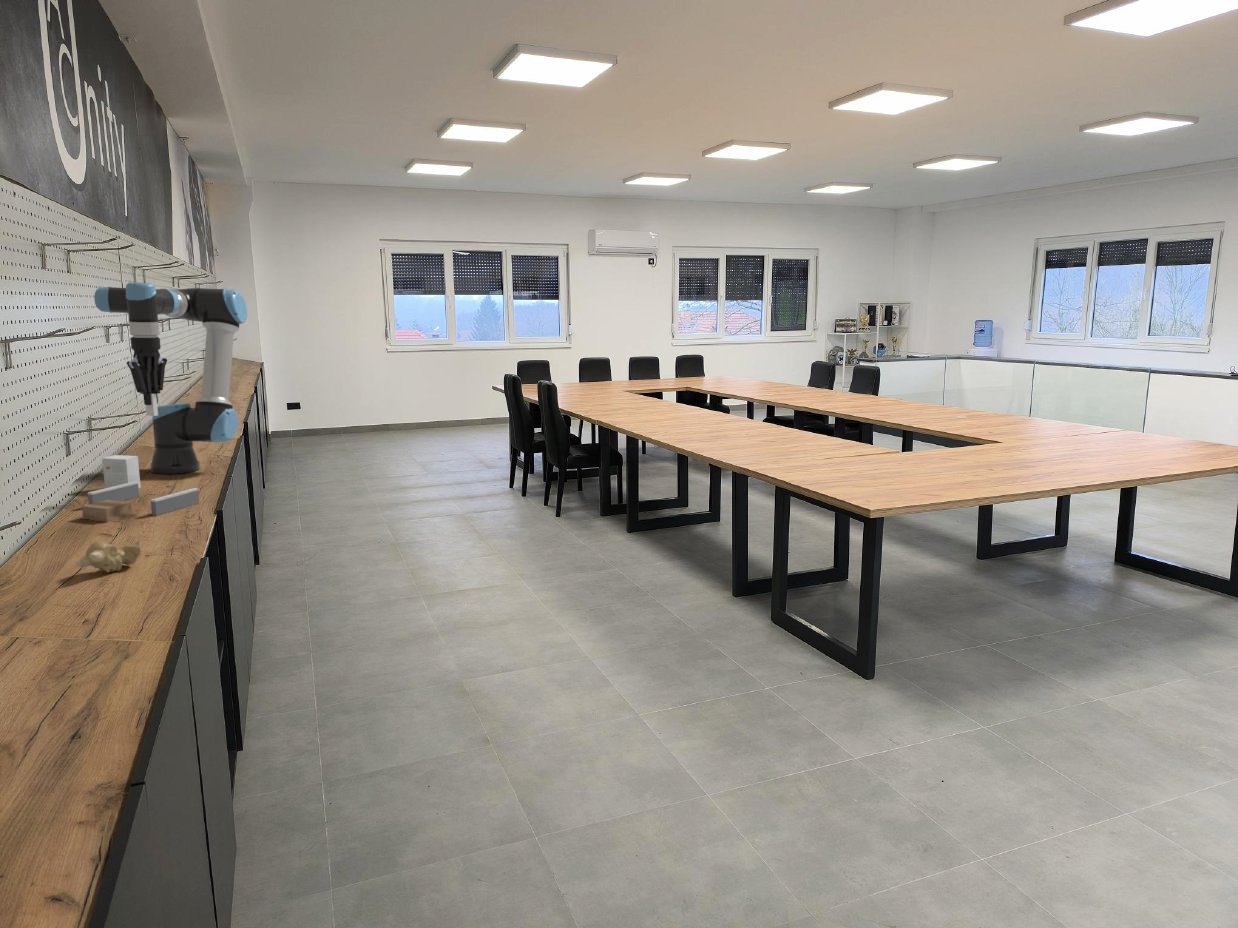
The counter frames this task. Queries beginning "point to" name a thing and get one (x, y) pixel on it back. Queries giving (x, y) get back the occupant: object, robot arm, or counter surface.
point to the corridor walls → (157, 504)
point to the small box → (120, 470)
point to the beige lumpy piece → (110, 556)
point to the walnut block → (107, 510)
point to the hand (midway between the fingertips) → (152, 415)
